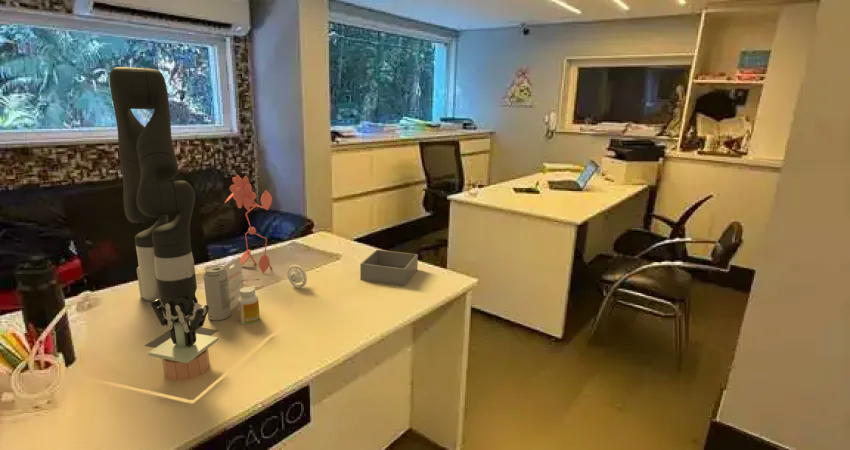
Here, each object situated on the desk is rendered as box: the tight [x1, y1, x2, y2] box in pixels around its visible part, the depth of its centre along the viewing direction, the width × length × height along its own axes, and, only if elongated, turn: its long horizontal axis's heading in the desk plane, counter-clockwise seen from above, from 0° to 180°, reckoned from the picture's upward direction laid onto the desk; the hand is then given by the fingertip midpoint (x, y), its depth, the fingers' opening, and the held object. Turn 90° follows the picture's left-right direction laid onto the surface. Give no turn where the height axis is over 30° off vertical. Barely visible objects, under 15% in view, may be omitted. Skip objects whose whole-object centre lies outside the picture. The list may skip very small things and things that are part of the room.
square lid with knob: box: [147, 321, 219, 363], centre depth 103 cm, size 10×10×6 cm
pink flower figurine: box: [224, 174, 273, 282], centre depth 160 cm, size 15×26×35 cm, turn 57°
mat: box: [144, 326, 219, 349], centre depth 119 cm, size 12×12×1 cm
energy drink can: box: [203, 265, 232, 322], centre depth 128 cm, size 6×6×15 cm
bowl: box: [161, 348, 210, 381], centre depth 105 cm, size 9×9×5 cm
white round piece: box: [286, 264, 308, 289], centre depth 152 cm, size 8×6×8 cm
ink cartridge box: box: [223, 256, 244, 311], centre depth 136 cm, size 9×5×15 cm, turn 169°
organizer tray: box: [359, 249, 419, 287], centre depth 165 cm, size 16×16×6 cm
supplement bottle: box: [237, 286, 261, 325], centre depth 128 cm, size 5×5×10 cm
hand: (184, 343), depth 104 cm, fingers closed on square lid with knob, 3 cm apart
